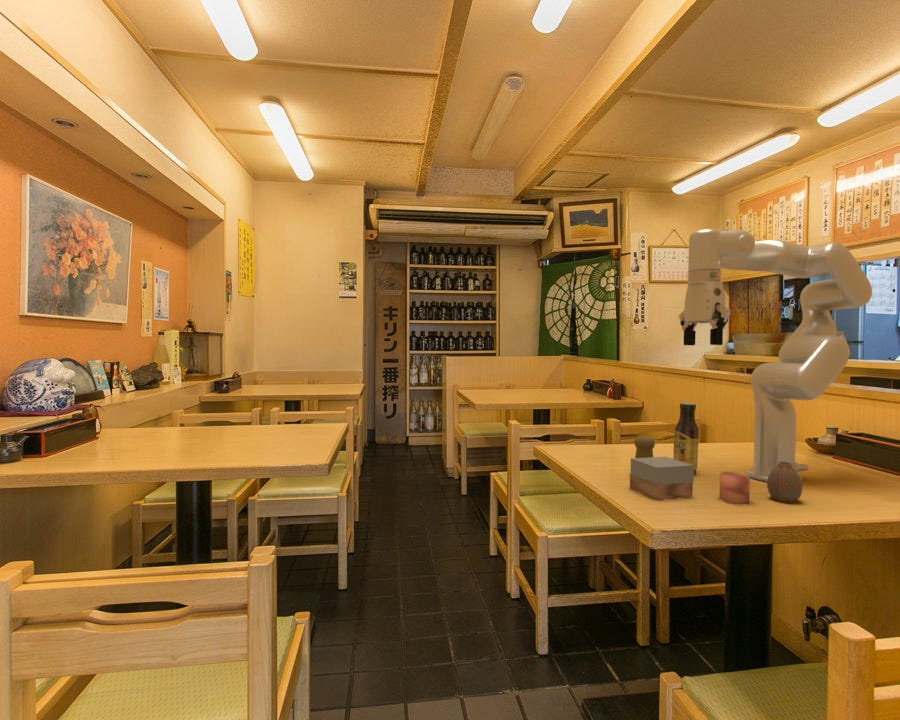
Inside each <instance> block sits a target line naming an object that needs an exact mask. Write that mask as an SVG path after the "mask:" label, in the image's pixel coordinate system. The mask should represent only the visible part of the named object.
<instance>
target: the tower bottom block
mask: <svg viewBox="0 0 900 720" xmlns="http://www.w3.org/2000/svg"><path fill="white" fill-rule="evenodd" d="M693 483H694V481H693V482H690V483H676V484H662V485H656V484H653V483H651V482H648V481H646V480H643V479H641V478H638V477H636V476H633V475H631V473H630V474H629V489H630V490H631V489H632V491H633V490H635V491H634V492H636V493H638V492H639V493H638V494H640V493H641V494H640V495H642V494H643V495H642V496H644V495H645V496H644V497H646V496H647V497H646V498H649V499H651V498H652V499H651V500H653V499H654V501H655V500H657V501H665V500H664V499H671V500H678V499H677V498H685V499H692V498H693V491H694V490H693V485H694V484H693ZM691 497H692V498H691Z"/></svg>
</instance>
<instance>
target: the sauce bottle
mask: <svg viewBox="0 0 900 720" xmlns="http://www.w3.org/2000/svg"><path fill="white" fill-rule="evenodd" d="M696 405H697V404H696V403H692V402H680V403H679V409H680V411H679V419H678V422H677V424H676V426H675V428H674V433H673V434H674V436H673V437H674V438H673V458H672V459H675V460H678V461H681V462H684V463H688V464H691V465H694V475H696V474H697V472H698V471H697V470H698V462H699V461H698V459H699V457H698V455H699V438H700V437H699V427H698V424H697V423H696V420H695V419H696V416H695V413H696V412H695V411H696V408H697V406H696Z"/></svg>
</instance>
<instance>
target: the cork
mask: <svg viewBox="0 0 900 720" xmlns="http://www.w3.org/2000/svg"><path fill="white" fill-rule="evenodd" d="M655 443H656V442H655V440H654V438H653V437H651V436H645V435H640V436H636V437H635V439H634V446H635V448H636V450H635V456H634V458H648V457H654V451H653V449H654V448H655V446H656V445H655Z"/></svg>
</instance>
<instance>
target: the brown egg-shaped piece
mask: <svg viewBox="0 0 900 720" xmlns="http://www.w3.org/2000/svg"><path fill="white" fill-rule="evenodd" d="M800 476H801V475H800V474H799V472H798V473H797V472H796V471H795V469H794V468H793V466H792V464H791V463H789V462H779V463H778V465H777V466H776V467H775V468H774V469H773V470H772V471H771V472H770V474H769V476H768V479H767V481H766V487H767V491H768V494H769V495H770V497H771V498H772V499H774V500H775V501H778V502H782V503H795V502H796V501H798V500H799V499H800V498H801V497H802V493H803V488H804V485H803V479H802V480H801V478H800Z"/></svg>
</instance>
